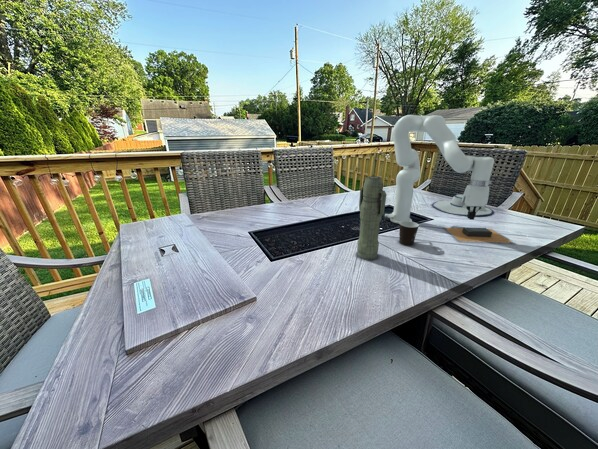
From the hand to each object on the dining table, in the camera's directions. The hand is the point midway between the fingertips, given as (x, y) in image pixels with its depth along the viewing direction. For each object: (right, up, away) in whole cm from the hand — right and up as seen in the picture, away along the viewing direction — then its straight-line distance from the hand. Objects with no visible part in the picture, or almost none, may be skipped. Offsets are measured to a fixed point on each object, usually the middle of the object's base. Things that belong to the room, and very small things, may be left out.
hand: (470, 218), depth 126 cm
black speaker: (-1, -7, +3) cm, 7 cm away
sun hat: (+26, +8, +47) cm, 55 cm away
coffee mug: (-34, -12, -4) cm, 36 cm away
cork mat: (+5, -9, +3) cm, 10 cm away
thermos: (-57, -17, -16) cm, 62 cm away
